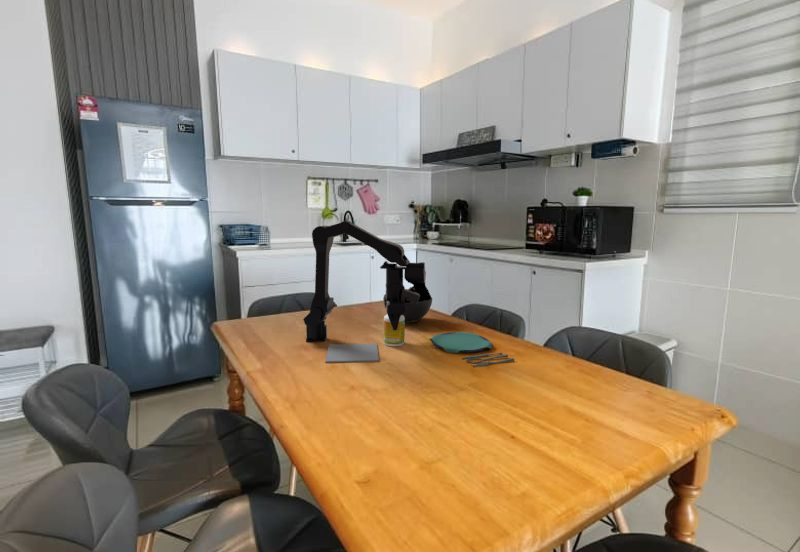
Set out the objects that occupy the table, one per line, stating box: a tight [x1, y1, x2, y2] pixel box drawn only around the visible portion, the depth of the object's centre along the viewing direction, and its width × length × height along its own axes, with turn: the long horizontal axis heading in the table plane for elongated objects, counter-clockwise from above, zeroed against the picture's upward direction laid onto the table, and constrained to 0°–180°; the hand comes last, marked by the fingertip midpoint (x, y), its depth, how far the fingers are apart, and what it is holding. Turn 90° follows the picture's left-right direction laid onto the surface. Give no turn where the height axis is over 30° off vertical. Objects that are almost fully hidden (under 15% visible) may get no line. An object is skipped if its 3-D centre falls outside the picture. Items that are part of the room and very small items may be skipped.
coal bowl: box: [382, 279, 433, 323], centre depth 173 cm, size 20×20×19 cm
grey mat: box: [324, 343, 380, 364], centre depth 135 cm, size 16×16×1 cm
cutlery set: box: [429, 331, 515, 368], centre depth 139 cm, size 20×30×2 cm, turn 20°
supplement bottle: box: [383, 314, 406, 347], centre depth 144 cm, size 7×7×13 cm
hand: (394, 327), depth 144 cm, fingers closed on supplement bottle, 7 cm apart
